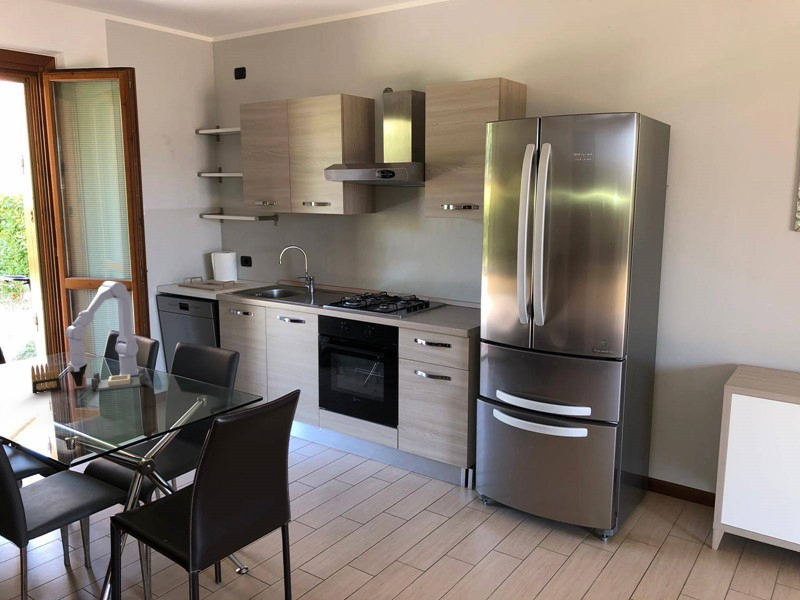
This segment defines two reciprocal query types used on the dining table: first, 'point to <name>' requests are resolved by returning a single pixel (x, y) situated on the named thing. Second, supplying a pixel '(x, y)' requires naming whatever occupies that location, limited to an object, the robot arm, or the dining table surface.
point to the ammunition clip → (48, 381)
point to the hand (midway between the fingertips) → (80, 383)
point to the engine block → (82, 383)
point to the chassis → (118, 381)
